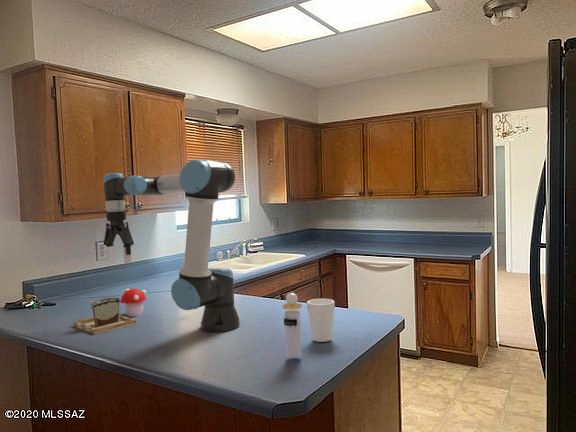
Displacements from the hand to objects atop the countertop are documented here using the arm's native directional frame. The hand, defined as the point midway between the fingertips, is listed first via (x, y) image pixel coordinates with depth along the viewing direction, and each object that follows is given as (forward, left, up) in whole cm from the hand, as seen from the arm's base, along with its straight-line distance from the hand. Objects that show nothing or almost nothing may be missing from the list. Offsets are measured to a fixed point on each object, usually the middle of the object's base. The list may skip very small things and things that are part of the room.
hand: (119, 262), depth 186 cm
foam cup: (-81, -31, -26) cm, 90 cm away
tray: (+4, +6, -26) cm, 27 cm away
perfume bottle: (-85, -12, -26) cm, 89 cm away
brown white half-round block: (+4, +6, -25) cm, 26 cm away
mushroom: (+9, -10, -26) cm, 29 cm away
